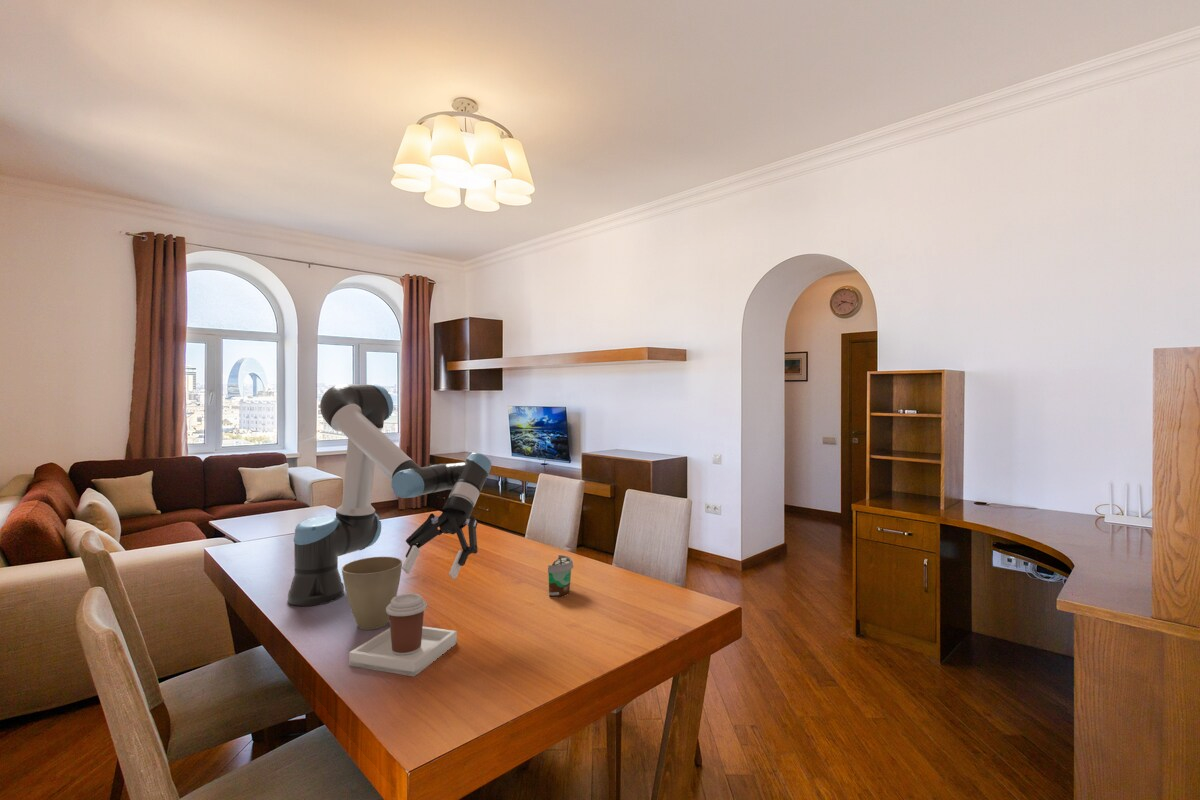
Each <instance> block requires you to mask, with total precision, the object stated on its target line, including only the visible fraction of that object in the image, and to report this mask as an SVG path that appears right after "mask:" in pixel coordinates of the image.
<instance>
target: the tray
mask: <svg viewBox="0 0 1200 800" xmlns="http://www.w3.org/2000/svg"><path fill="white" fill-rule="evenodd" d="M457 632H458V631H457V630H453V629H443V628H438V627H430V626H424V625H423V627H422V639H421V649H420V650H419V651H418V652H416V653H414V654H411V655H406V656H399V655H395V654H393V653H392V642H391V631H390V627H389V628H387V629H386V630H384V631H382V632H381V633H379V634H377V635H376V636H374V637H372V638H371V639H369V640H367V641H366V642H364V643H362V644H360V645H359V646H357V647H356V648H355V649H352V650H350V651H349V652H348V653H349V655H348V656H349V657H348V658H349V659H348V660H349V667H353V668H354V667H356V668H360V669H361V668H362V669H368V670H374V671H379V672H384V673H385V672H386V673H391V674H396V675H403V676H408V677H416V676H417V675H419V674H420V673H421V672H422V671H424V670H425V669H426V668H428V667H429V666H430V665H431V664H432V663H434V662H435V661H436V660H438V659H439V658H440V657H442V656H443V655H444V654H445V653H446V652H448V651H449V650H451V649H452V648H453V647H455V645H457V644H458V633H457ZM456 643H457V644H456ZM451 647H452V648H451ZM447 650H448V651H447ZM442 654H443V655H442ZM437 658H438V659H437ZM433 661H434V662H433Z"/></svg>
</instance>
